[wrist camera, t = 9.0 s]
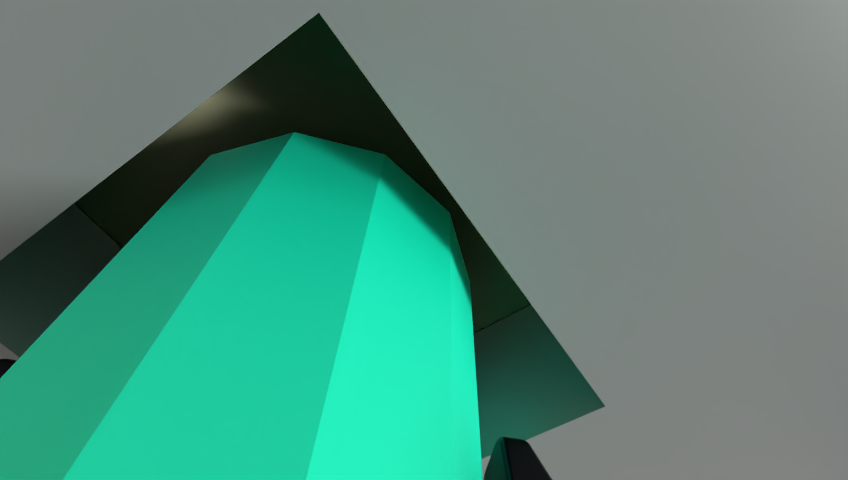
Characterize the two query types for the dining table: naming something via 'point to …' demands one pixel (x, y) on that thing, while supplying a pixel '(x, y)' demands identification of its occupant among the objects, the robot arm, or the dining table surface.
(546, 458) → the socket block
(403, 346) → the candle
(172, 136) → the dining table surface
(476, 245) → the dining table surface
